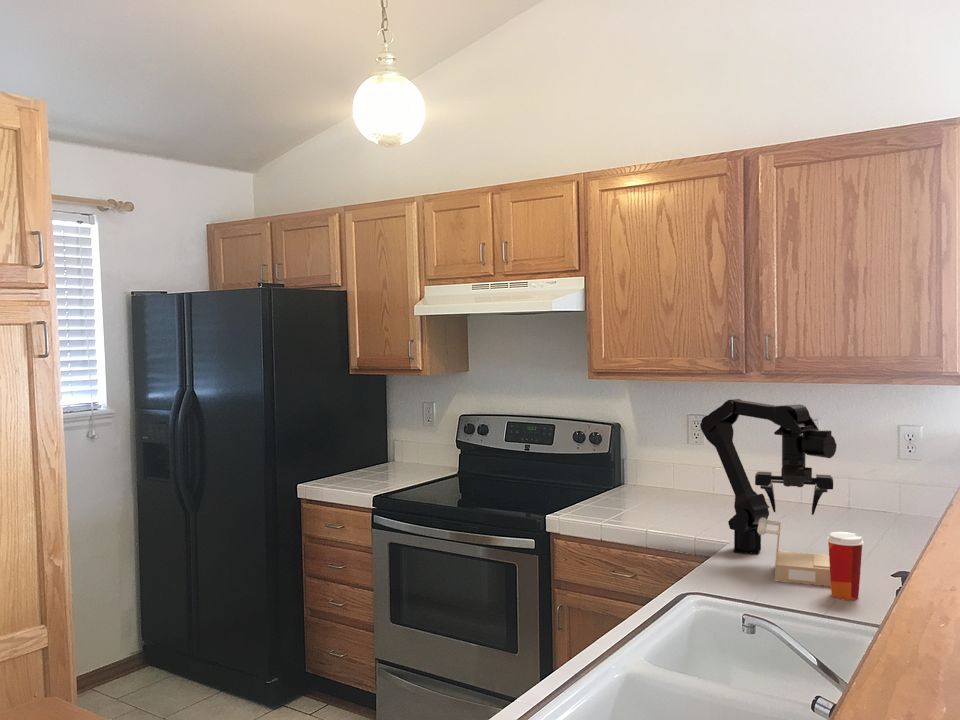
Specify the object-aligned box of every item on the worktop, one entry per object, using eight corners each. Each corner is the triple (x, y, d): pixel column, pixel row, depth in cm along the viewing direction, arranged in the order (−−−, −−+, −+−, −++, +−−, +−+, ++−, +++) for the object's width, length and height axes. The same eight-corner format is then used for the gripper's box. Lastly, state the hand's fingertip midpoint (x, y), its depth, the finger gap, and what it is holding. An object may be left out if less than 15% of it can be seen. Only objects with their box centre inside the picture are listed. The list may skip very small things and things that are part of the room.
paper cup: (853, 590, 190) (853, 530, 189) (870, 601, 182) (870, 539, 182) (820, 591, 189) (820, 531, 189) (835, 602, 182) (835, 540, 181)
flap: (777, 561, 198) (754, 557, 200) (778, 549, 208) (756, 546, 210) (780, 529, 197) (757, 526, 199) (781, 519, 208) (759, 516, 209)
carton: (775, 581, 197) (775, 563, 197) (776, 566, 209) (776, 549, 209) (847, 588, 191) (847, 569, 191) (844, 572, 204) (844, 554, 203)
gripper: (754, 456, 207) (754, 517, 207) (834, 460, 200) (834, 523, 201) (756, 450, 217) (756, 508, 218) (832, 453, 210) (832, 513, 211)
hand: (793, 513), depth 212 cm, fingers open, 9 cm apart
